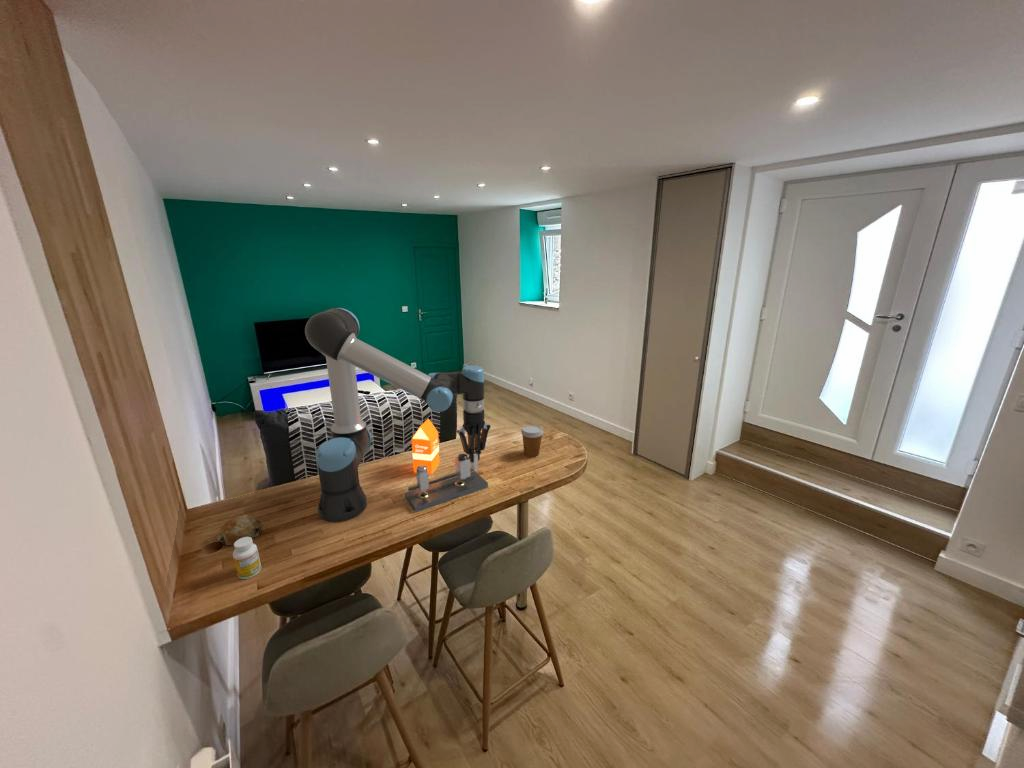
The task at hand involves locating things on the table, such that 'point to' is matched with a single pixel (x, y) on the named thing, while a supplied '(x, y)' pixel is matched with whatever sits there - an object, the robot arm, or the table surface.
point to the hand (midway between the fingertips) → (474, 468)
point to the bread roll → (239, 529)
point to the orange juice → (426, 447)
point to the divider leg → (462, 466)
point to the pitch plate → (441, 488)
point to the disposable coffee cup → (532, 439)
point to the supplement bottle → (246, 558)
